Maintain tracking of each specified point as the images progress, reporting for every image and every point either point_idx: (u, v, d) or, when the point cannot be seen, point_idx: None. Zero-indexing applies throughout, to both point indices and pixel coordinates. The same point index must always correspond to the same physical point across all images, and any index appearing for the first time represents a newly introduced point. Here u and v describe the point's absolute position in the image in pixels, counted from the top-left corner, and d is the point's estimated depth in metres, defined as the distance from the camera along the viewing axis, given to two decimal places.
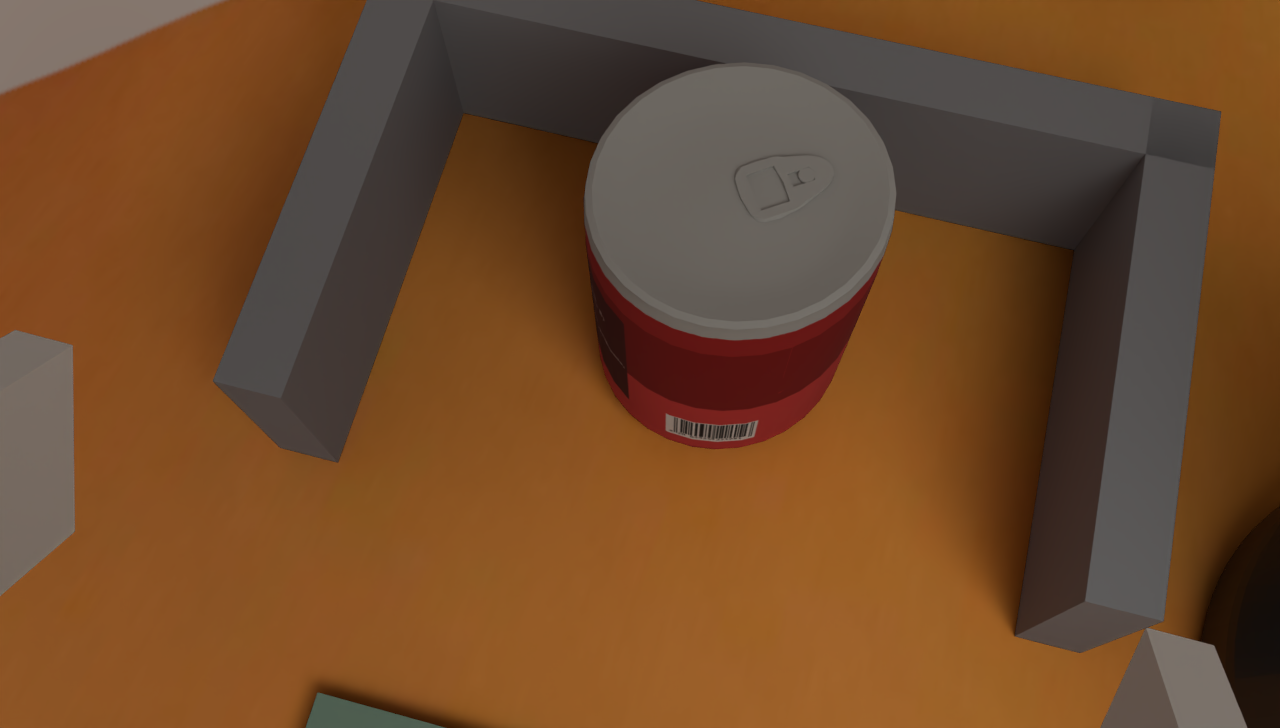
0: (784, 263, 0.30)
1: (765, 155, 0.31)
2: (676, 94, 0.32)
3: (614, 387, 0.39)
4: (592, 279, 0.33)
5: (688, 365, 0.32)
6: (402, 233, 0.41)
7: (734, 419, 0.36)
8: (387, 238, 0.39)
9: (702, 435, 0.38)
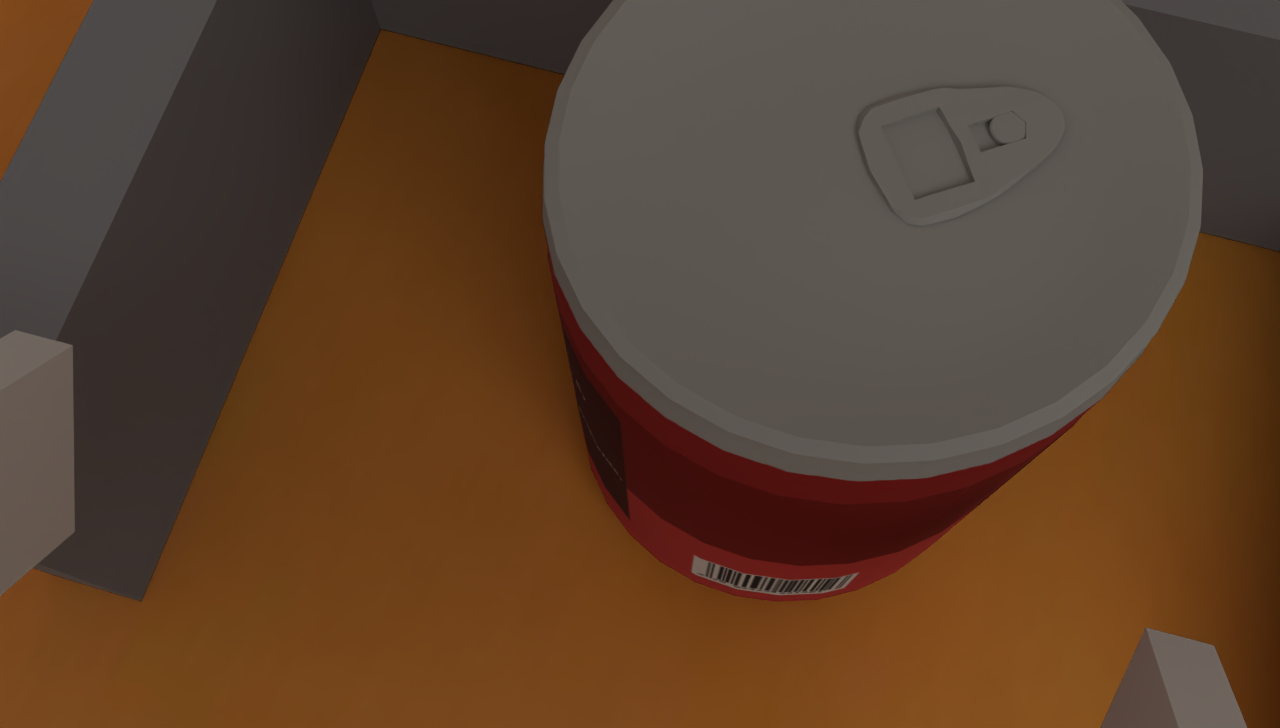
0: (963, 315, 0.14)
1: (919, 84, 0.15)
2: None
3: (605, 493, 0.23)
4: (562, 325, 0.17)
5: (747, 507, 0.16)
6: (260, 219, 0.24)
7: (817, 574, 0.20)
8: (227, 228, 0.23)
9: (755, 587, 0.22)
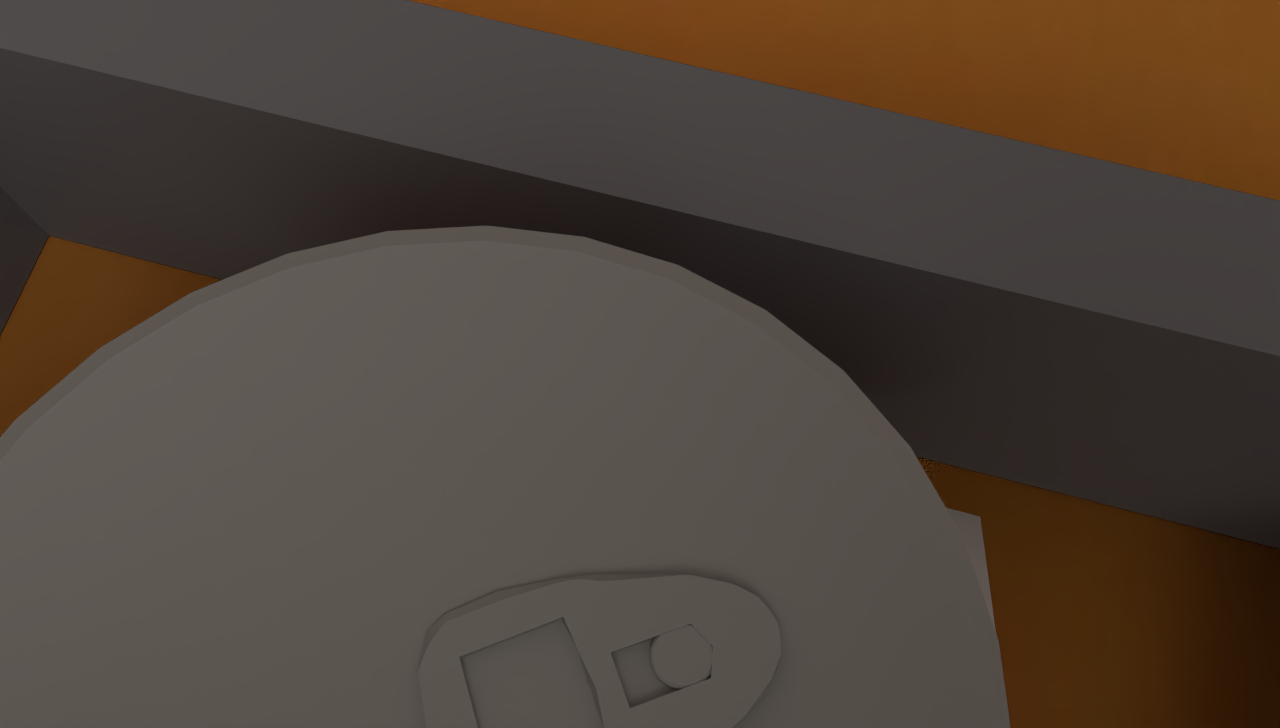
0: None
1: (537, 567, 0.09)
2: (241, 338, 0.09)
3: None
4: None
5: None
6: None
7: None
8: None
9: None
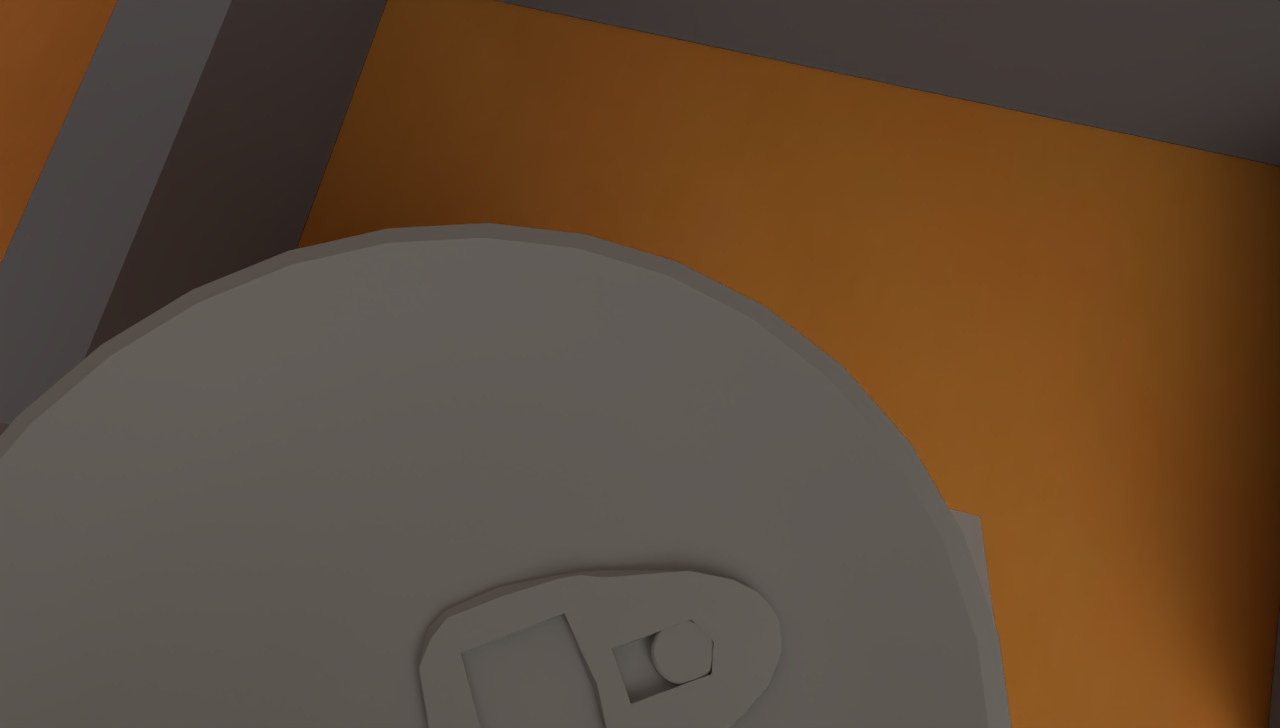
0: None
1: (540, 563, 0.09)
2: (242, 335, 0.09)
3: None
4: None
5: None
6: (294, 157, 0.26)
7: None
8: (265, 164, 0.25)
9: None
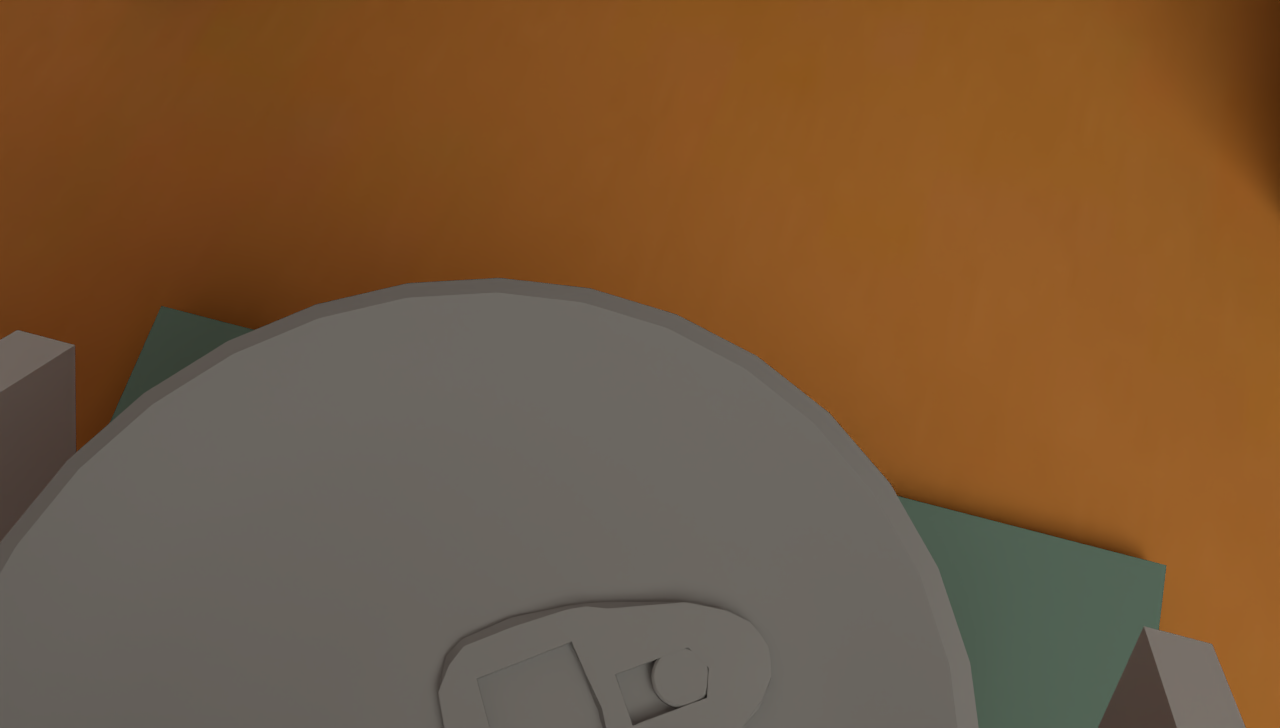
0: None
1: (549, 594, 0.10)
2: (274, 384, 0.10)
3: None
4: None
5: None
6: None
7: None
8: None
9: None
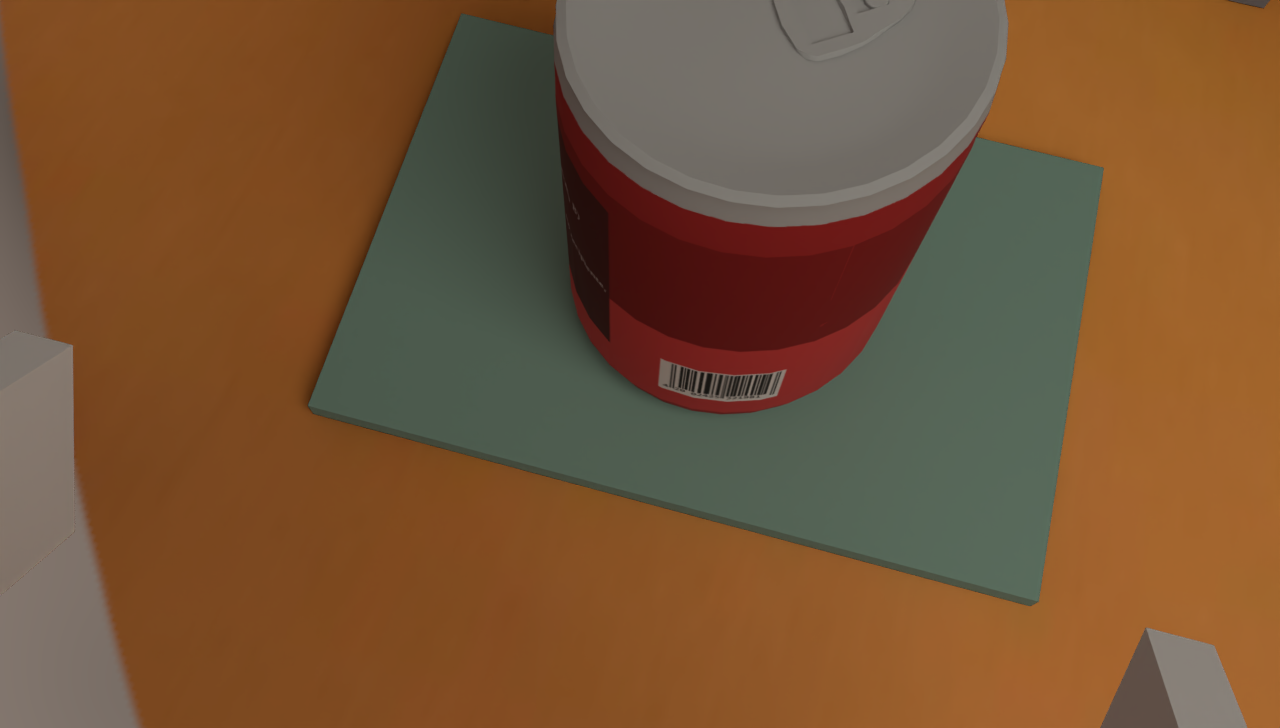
0: (846, 118, 0.21)
1: None
2: None
3: (590, 328, 0.29)
4: (563, 155, 0.23)
5: (700, 275, 0.22)
6: None
7: (754, 366, 0.26)
8: None
9: (707, 392, 0.28)
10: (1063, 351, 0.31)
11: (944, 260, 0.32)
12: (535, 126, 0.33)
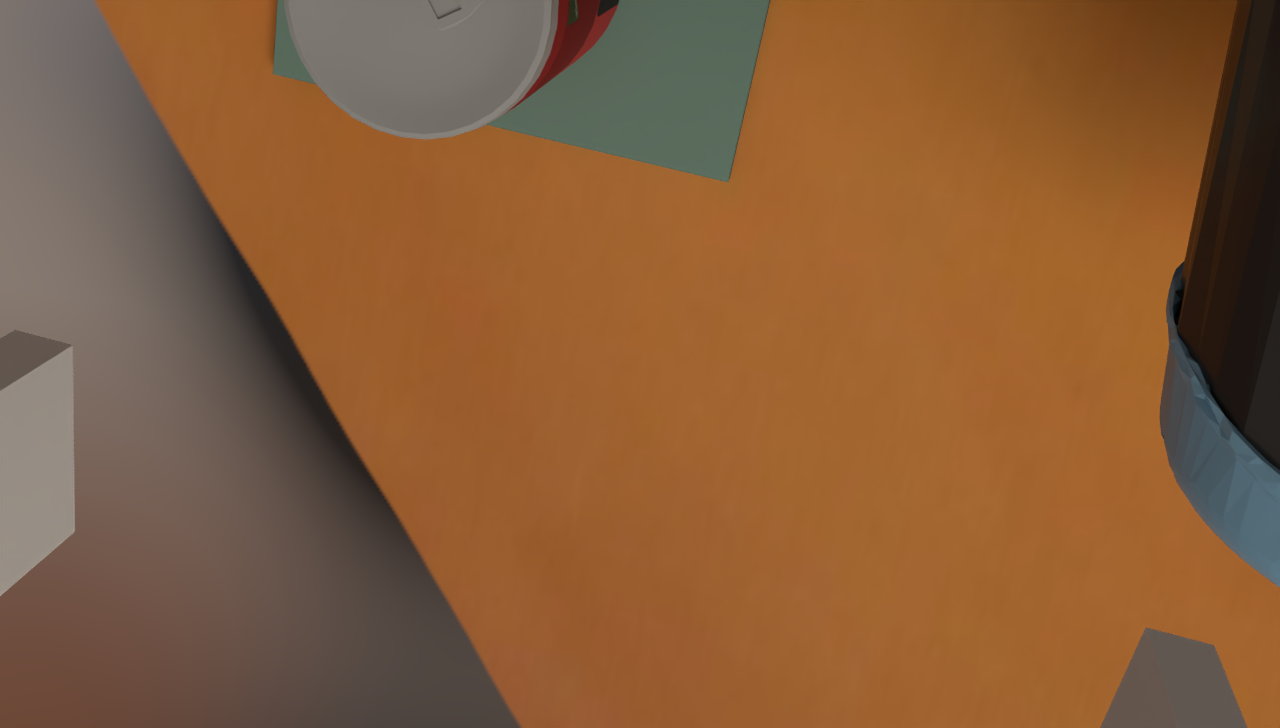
0: (463, 69, 0.35)
1: None
2: None
3: None
4: None
5: None
6: None
7: None
8: None
9: None
10: (759, 5, 0.43)
11: None
12: None
